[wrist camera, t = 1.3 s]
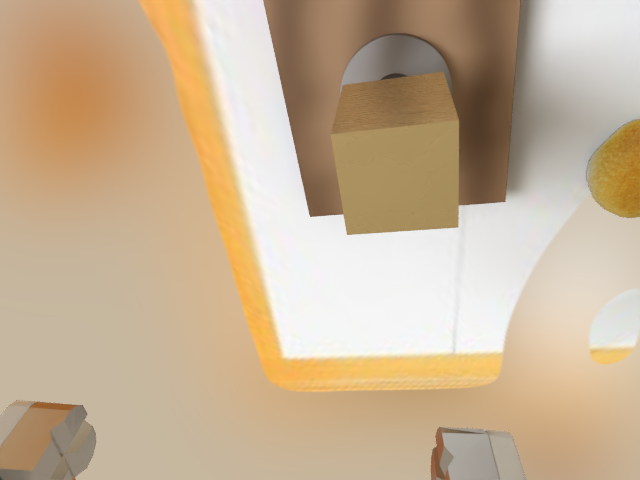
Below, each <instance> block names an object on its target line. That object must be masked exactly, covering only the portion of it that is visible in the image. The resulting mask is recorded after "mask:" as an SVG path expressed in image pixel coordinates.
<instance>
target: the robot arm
mask: <svg viewBox="0 0 640 480" xmlns="http://www.w3.org/2000/svg"><path fill="white" fill-rule="evenodd" d="M86 416H87V412H86V410H85V408H84V407H83V405H72V404H59V403H46V402H36V401H20V400H16V401H15V402H14V403H12V404H10V405H9V406H8V407H7V408H6V409H5V411H4V412H3V413H2V414H1V416H0V480H75V477H76V476H77V475H78V474H79V473H81V472H82V471H84V470H85V469H86V468H87V467H88V465H89V463H90V461H91V458H92V456H93V453H94V449H95V445H96V433H95V430H94V428H93V426H92V425H90V424H89V423H88V422H86V421H85V418H86ZM436 444H437V446H436V447H435V448H434V449H433V451H432V457H431V480H526V477H525V474H524V471H523V468H522V465H521V461H520V458H519V455H518V452H517V449H516V445H515V442H514V439H513V436H512V435H511V434H510V432H508V431H494V430H483V429H468V428H466V429H465V428H446V427H439V428H438V430H437V433H436Z"/></svg>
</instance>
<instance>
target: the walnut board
mask: <svg viewBox="0 0 640 480" xmlns="http://www.w3.org/2000/svg"><path fill="white" fill-rule="evenodd" d="M263 1H264V6H265V10H266V15H267V20H268V24H269V29H270V34H271V38H272V43H273V47H274V52H275V57H276V61H277V66H278V71H279V75H280V80H281V84H282V89H283V94H284V98H285V103H286V108H287V112H288V117H289V122H290V126H291V131H292V135H293V140H294V145H295V149H296V154H297V159H298V163H299V168H300V173H301V177H302V182H303V186H304V191H305V196H306V200H307V205H308V210H309V214H310V217H313V216H326V215H340V214H344V213H343V207H342V201H341V195H340V189H339V183H338V177H337V171H336V165H335V158H334V152H333V146H332V140H331V131H332V127H333V123H334V119H335V115H336V111H337V107H338V103H339V99H340V95H341V91H342V87H343V85H346V84H354V83H361V82H369V81H376V80H384V79H391V78H399V77H407V76H414V75H422V74H429V73H437V72H444V75H445V78H446V81H447V84H448V87H449V90H450V93H451V97H452V100H453V103H454V106H455V109H456V112H457V115H458V119H459V199H458V205H470V204H484V203H497V202H505V199H506V186H507V173H508V159H509V146H510V133H511V120H512V107H513V93H514V80H515V67H516V54H517V40H518V27H519V14H520V1H521V0H263Z"/></svg>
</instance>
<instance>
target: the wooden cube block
mask: <svg viewBox="0 0 640 480" xmlns="http://www.w3.org/2000/svg"><path fill="white" fill-rule="evenodd" d="M331 140H332V146H333V152H334V158H335V165H336V171H337V177H338V183H339V189H340V195H341V201H342V207H343V213H344V219H345V225H346V231H347V235H352V234H367V233H381V232H396V231H411V230H426V229H441V228H456V227H458V199H459V119H458V115H457V112H456V109H455V106H454V103H453V100H452V97H451V93H450V90H449V87H448V84H447V81H446V78H445V75H444V72H437V73H429V74H422V75H414V76H407V77H399V78H391V79H384V80H376V81H369V82H361V83H354V84H346V85H343V87H342V91H341V95H340V99H339V103H338V107H337V111H336V115H335V119H334V123H333V127H332V131H331Z"/></svg>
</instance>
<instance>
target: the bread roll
mask: <svg viewBox="0 0 640 480" xmlns="http://www.w3.org/2000/svg"><path fill="white" fill-rule="evenodd" d="M586 180H587V183H588V186H589V189H590V191H591V193H592V196H593V198H594V199H595V200H596V202H597V203H598V204H599V205H600V206H601V207H603V208H604V209H606V210H607V211H609V212H612V213H613V214H616V215H618V216H620V217H627V218H633V217H640V119H639V120H634V121H631V122H628V123H626V124H625V125H623V126H622V127H620V128H619V129H618V130H617V131H616V132H615V133H613V134H612V135H611V136H610V137H609V138H608V139H607V140H606V141H605V142H604V143H603V144H602V145H601V146H600V147H599V148H598V149H597V150H596V151H595V153H594V154H593V155H592V156H591V158H590V160H589V163H588V166H587V171H586Z"/></svg>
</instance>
